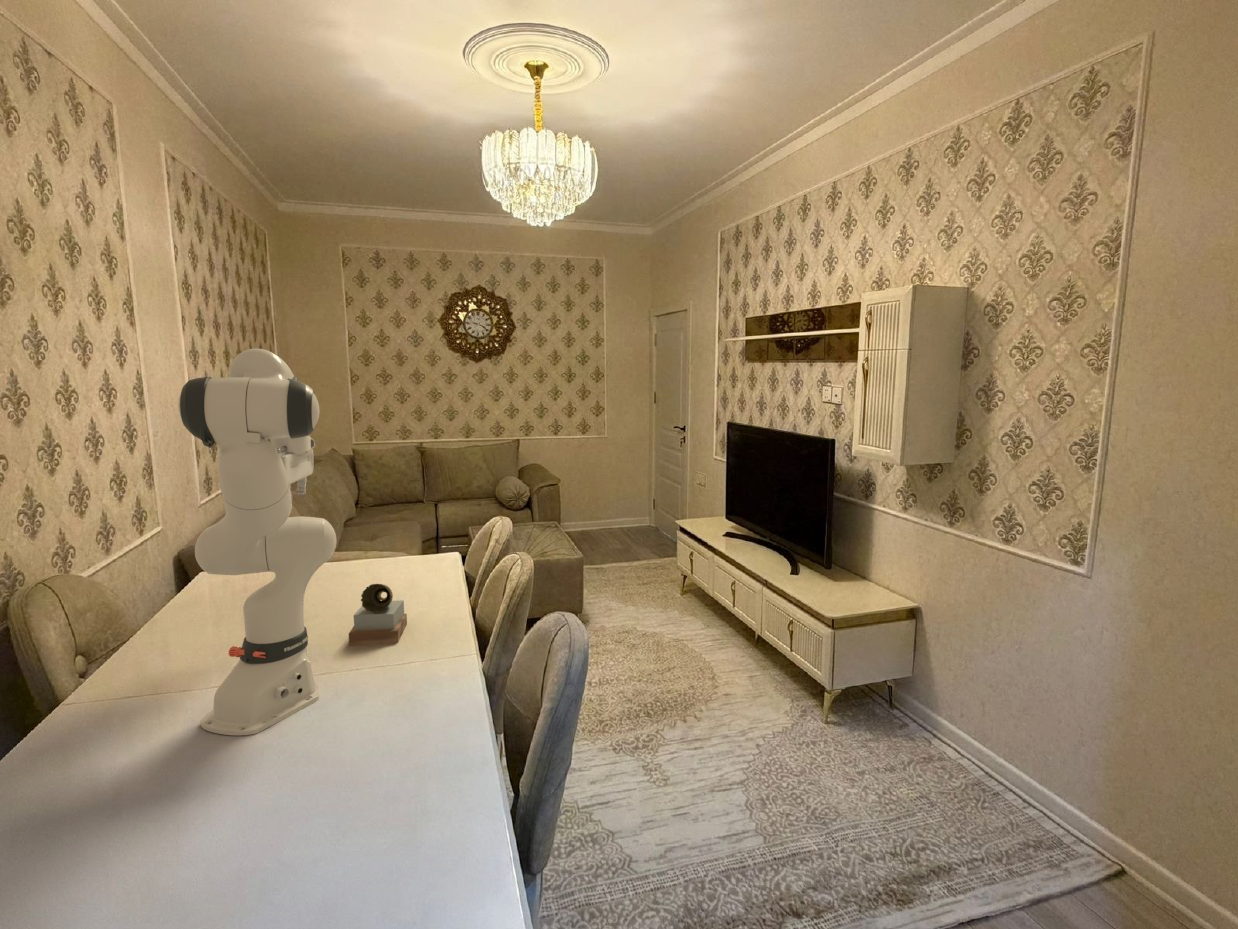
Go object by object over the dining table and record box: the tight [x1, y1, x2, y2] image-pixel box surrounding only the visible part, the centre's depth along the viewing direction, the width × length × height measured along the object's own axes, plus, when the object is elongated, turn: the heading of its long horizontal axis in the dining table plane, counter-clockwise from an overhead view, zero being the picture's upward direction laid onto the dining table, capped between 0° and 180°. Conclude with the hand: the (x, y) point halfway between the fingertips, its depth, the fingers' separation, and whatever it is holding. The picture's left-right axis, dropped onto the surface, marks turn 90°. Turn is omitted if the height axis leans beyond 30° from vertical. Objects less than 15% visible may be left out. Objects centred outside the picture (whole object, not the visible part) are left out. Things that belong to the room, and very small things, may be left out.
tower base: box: [348, 613, 408, 647], centre depth 168 cm, size 12×12×4 cm
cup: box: [360, 583, 394, 613], centre depth 167 cm, size 8×7×8 cm
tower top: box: [353, 600, 405, 630], centre depth 168 cm, size 10×10×4 cm
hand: (294, 497), depth 163 cm, fingers open, 8 cm apart
